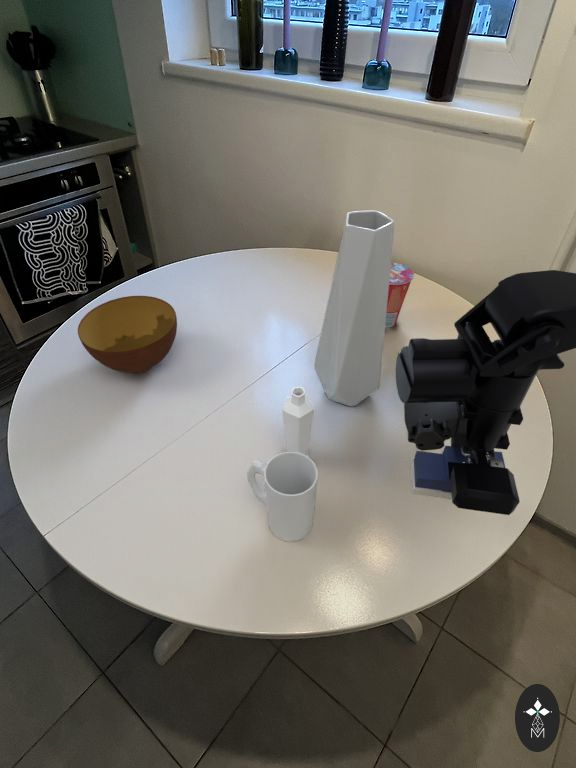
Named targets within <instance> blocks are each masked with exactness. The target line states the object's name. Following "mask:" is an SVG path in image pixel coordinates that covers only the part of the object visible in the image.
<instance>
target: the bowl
mask: <svg viewBox="0 0 576 768" xmlns="http://www.w3.org/2000/svg"><path fill="white" fill-rule="evenodd" d="M177 331H178V318H177V313H176V309H175V308H174V307H173V306H172V305H171V304H170V303H169V302H167V301H166V300H164V299H162V298H158V297H155V296H149V295H128V296H122V297H117V298H115V299H111V300H108V301H105V302H103V303H101V304H99V305H97V306H96V307H94V308H93V309H90V311H88V312H87V313H86V314H85V315H84V316H83V317H82V318H81V320H80V322H79V324H78V327H77V335H78V338H79V340H80V343H81V345H82V346H83V348H84V349H85V350H86V351H87V353H88V354H89V355H90V356H91V357H92V358H93V359H95V360H96V361H97V362H99V364H101V365H103V366H105V367H107V368H108V369H111V370H114V371H117V372H123V373H134V374H139V373H144V372H146V371H148V370H150V369H152V368H153V367H155V366H157V365H158V364H159V363H160V362H162V361H163V360H164V359H165V358H166V357H167V356H168V354H169V352H170V351H171V349H172V347H173V345H174V342H175V340H176V337H177Z"/></svg>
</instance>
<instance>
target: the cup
mask: <svg viewBox="0 0 576 768" xmlns="http://www.w3.org/2000/svg"><path fill="white" fill-rule="evenodd" d="M414 277H415V273H414V271H413V270H412V269H411V268H409V267H408V266H407V265H404V264H401V263H397V262H396V263H395V262H391V269H390V280H389V291H388V302H387V312H386V323H385V329H387V328H392V327H395V325H396V324H397V321H398V318H399V316H400V314H401V313H400V312H401V310H402V307H403V305H404V301H405V298H406V296H407V293H408V290H409V288H410V285H411V283H412V281H413V280H414Z"/></svg>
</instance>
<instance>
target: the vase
mask: <svg viewBox="0 0 576 768" xmlns="http://www.w3.org/2000/svg"><path fill="white" fill-rule="evenodd" d="M394 234H395V221H394V220H393V219H392V218H391V217H389V216H388V215H386V214H384V213H383V212H381V211H379V210H375V209H374V210H370V209H369V210H357V211H356V210H355V211H349V212H347V213H346V216H345V220H344V225H343V230H342V234H341V239H340V243H339V247H338V251H337V256H336V262H335V266H334V271H333V275H332V280H331V284H330V289H329V294H328V298H327V303H326V308H325V312H324V316H323V317H324V318H323V321H322V325H321V331H320V336H319V339H318V344H317V350H316V354H315V357H314V363H313V366H314V371H315V373H316V376H317V377H318V379H319V382H320V383H321V386H322V388H323V390H324V392H325V394H326V396H327V398H328V399H329V400H330V401H334V402H336V403H339V404H342V405H345V406H348V407H356V406H357V405H359V404H360V403H361V402H362V401H364V400H365V399H367V398H368V397H369V396H371V394H373V393H374V392H376V391H377V390H378V389H379V388H380V385H381V374H382V365H383V353H384V343H385V335H386V334H385V332H386V328H385V323H386V312H387V302H388V291H389V280H390V269H391V263H392V257H393V247H394V246H393V245H394V236H395V235H394Z"/></svg>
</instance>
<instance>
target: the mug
mask: <svg viewBox="0 0 576 768" xmlns="http://www.w3.org/2000/svg"><path fill="white" fill-rule="evenodd" d="M256 474H259V475H261V476H262V477H263V478H264V489H263V487H262V486H260V484H259V483H258V481H257V478H256ZM246 477H247V482H248V484H249V486H250V489H251V490H252V493H253V494H254V497H255V498H256V499H257V500H258V501H260V502H262V503H264V504H265V505H266V508H267V509H266V510H267V518H268V525H269V528H270V531H271V533H272V534H273V535H274V536H275V537H276V538H278V539H279V540H281V541H284V542H288V543H294V542H298V541H302V540H303V539H305V537H307V536H308V535H309V534H310V532H311V530H312V527H313V524H314V515H315V508H316V507H315V506H316V497H317V487H318V477H319V470H318V467H317V465H316V463H315V462H314V461H313V459H312V458H310V457H309V455H308V456H306V455H304V454H302V453H298V452H287V451H284V452H280V453H277V454H276V455H274V456H272V457H271V458H270V459H269V460H268V461H267V462H266V464H264V463H263V462H262V461H259V460H257V459H254V460H253V462H252V463H251V466H250V467H249V468H248V470H247V476H246Z"/></svg>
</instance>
